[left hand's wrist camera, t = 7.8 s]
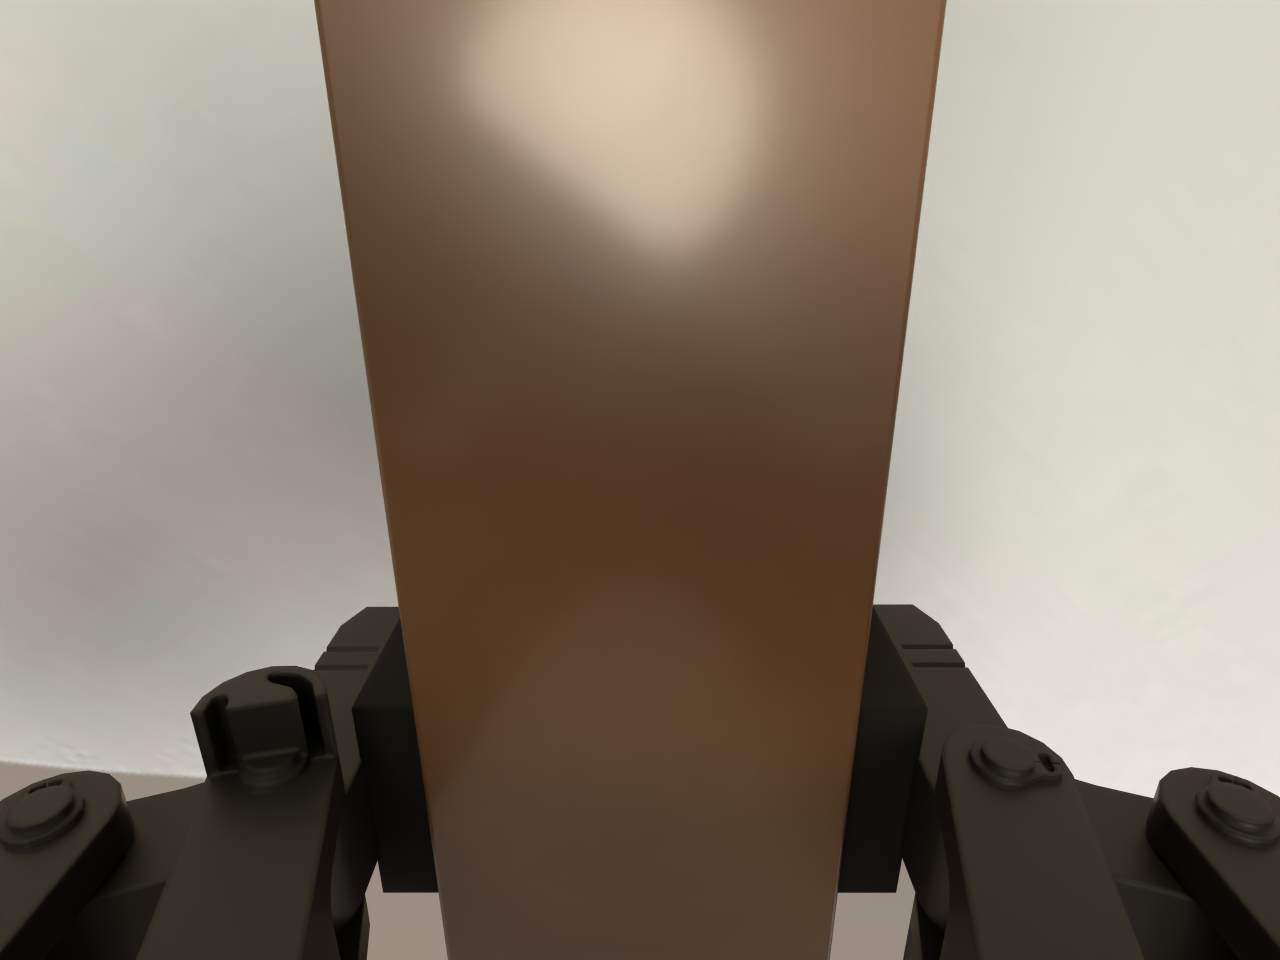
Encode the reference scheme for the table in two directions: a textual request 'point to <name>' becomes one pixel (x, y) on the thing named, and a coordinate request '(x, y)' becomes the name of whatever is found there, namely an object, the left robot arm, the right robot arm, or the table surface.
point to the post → (634, 440)
